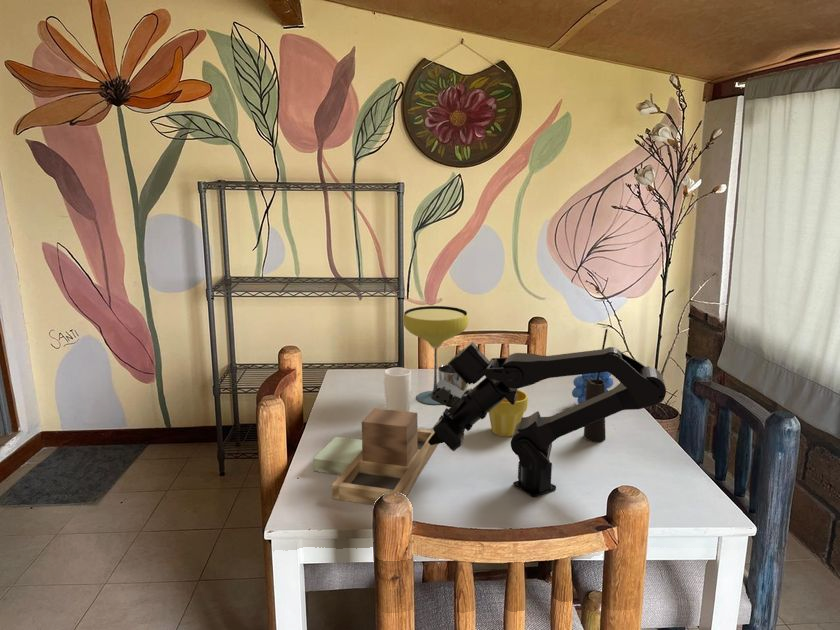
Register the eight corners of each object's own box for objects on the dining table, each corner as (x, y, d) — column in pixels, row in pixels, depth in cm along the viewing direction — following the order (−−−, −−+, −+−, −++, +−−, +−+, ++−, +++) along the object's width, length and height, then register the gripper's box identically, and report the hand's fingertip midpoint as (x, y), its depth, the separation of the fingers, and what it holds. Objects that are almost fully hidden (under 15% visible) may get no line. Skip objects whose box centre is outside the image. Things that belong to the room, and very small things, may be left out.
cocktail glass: (468, 388, 192) (469, 306, 186) (465, 411, 175) (467, 321, 169) (407, 386, 194) (407, 305, 188) (399, 408, 176) (398, 319, 171)
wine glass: (450, 415, 171) (450, 361, 168) (475, 423, 166) (476, 367, 163) (431, 425, 165) (431, 369, 162) (456, 433, 160) (457, 375, 157)
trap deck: (439, 442, 155) (439, 431, 154) (398, 508, 125) (398, 494, 125) (351, 432, 161) (351, 421, 160) (293, 492, 132) (292, 479, 131)
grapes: (605, 398, 183) (608, 358, 181) (615, 407, 177) (618, 365, 174) (565, 400, 182) (568, 359, 179) (574, 409, 176) (576, 367, 173)
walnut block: (417, 450, 144) (417, 412, 142) (406, 466, 136) (406, 426, 134) (375, 445, 146) (374, 408, 144) (362, 460, 139) (361, 421, 137)
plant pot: (525, 441, 155) (526, 403, 153) (482, 438, 157) (483, 400, 155) (527, 425, 165) (528, 388, 163) (486, 421, 167) (487, 386, 165)
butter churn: (562, 434, 159) (567, 324, 153) (589, 426, 164) (596, 319, 158) (590, 448, 152) (597, 333, 145) (617, 438, 157) (626, 327, 150)
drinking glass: (379, 430, 162) (378, 373, 159) (393, 420, 168) (392, 365, 165) (403, 435, 159) (402, 377, 156) (416, 425, 165) (416, 369, 162)
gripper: (464, 357, 141) (416, 400, 147) (443, 385, 124) (390, 432, 129) (499, 395, 141) (449, 436, 147) (483, 428, 124) (427, 473, 129)
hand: (429, 442), depth 138 cm, fingers closed
